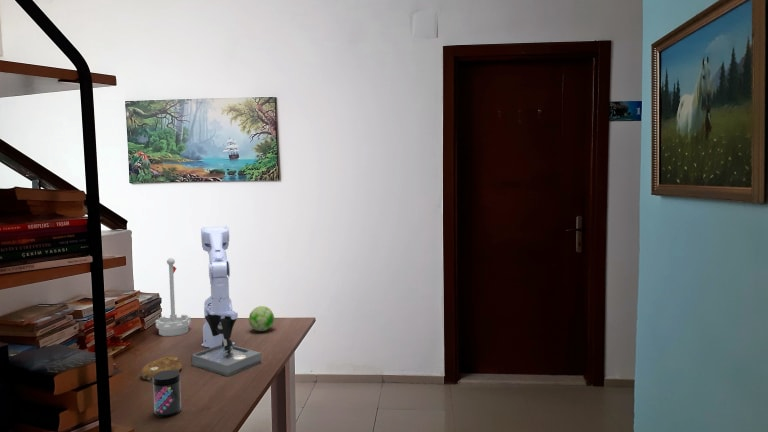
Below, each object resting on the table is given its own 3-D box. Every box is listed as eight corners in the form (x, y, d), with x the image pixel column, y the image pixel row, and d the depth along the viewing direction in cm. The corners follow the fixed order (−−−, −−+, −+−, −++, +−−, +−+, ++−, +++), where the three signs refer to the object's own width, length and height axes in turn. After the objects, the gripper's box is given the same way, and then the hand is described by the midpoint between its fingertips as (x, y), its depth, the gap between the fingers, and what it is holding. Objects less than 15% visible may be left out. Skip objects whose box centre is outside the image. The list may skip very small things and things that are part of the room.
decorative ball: (250, 327, 216) (250, 303, 215) (275, 326, 217) (275, 303, 216) (247, 335, 206) (246, 310, 206) (273, 334, 208) (272, 309, 207)
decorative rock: (149, 367, 175) (138, 386, 161) (148, 355, 175) (136, 374, 160) (185, 362, 177) (177, 381, 163) (184, 351, 177) (176, 369, 162)
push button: (233, 355, 175) (228, 327, 173) (217, 358, 175) (212, 329, 173) (237, 347, 181) (232, 320, 179) (222, 349, 181) (217, 322, 179)
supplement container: (150, 411, 141) (148, 374, 140) (176, 404, 146) (174, 367, 145) (159, 420, 136) (157, 381, 135) (185, 412, 141) (183, 375, 140)
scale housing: (191, 365, 175) (190, 353, 175) (225, 352, 187) (224, 342, 186) (227, 376, 165) (227, 364, 165) (260, 362, 177) (260, 351, 176)
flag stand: (183, 336, 205) (180, 260, 202) (150, 337, 205) (146, 260, 202) (195, 326, 218) (193, 255, 215) (164, 327, 218) (161, 255, 215)
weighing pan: (195, 359, 175) (195, 356, 175) (224, 348, 185) (224, 346, 185) (219, 366, 169) (219, 363, 169) (248, 355, 179) (248, 352, 178)
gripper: (196, 296, 176) (197, 336, 177) (224, 302, 168) (226, 344, 169) (213, 292, 182) (214, 330, 183) (242, 298, 174) (243, 338, 175)
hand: (221, 336), depth 176 cm, fingers closed on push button, 5 cm apart
